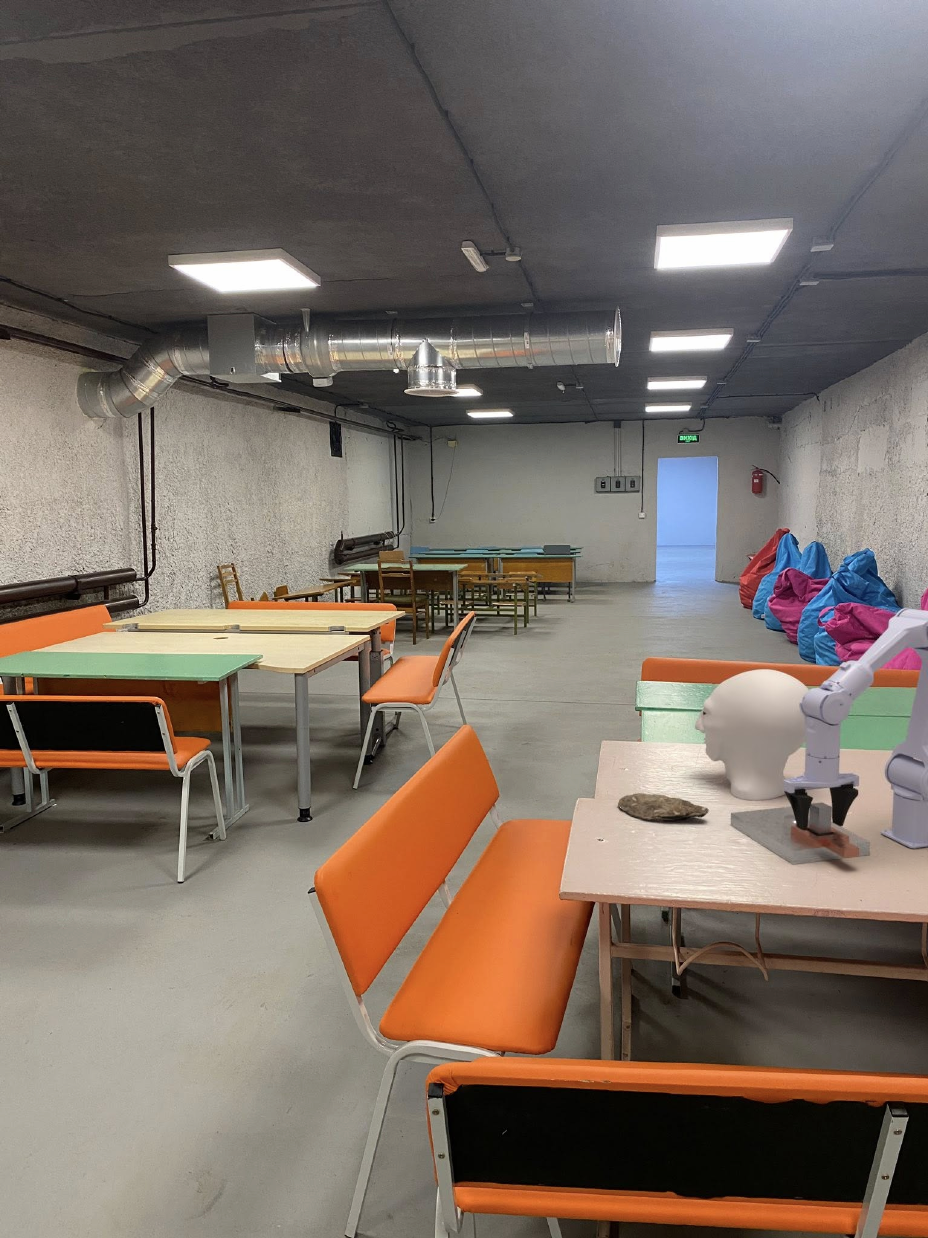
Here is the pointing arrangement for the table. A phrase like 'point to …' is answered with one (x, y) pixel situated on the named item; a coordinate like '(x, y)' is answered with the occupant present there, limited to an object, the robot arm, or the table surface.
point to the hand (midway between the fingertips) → (819, 826)
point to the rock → (660, 807)
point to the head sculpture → (754, 730)
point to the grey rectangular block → (820, 819)
